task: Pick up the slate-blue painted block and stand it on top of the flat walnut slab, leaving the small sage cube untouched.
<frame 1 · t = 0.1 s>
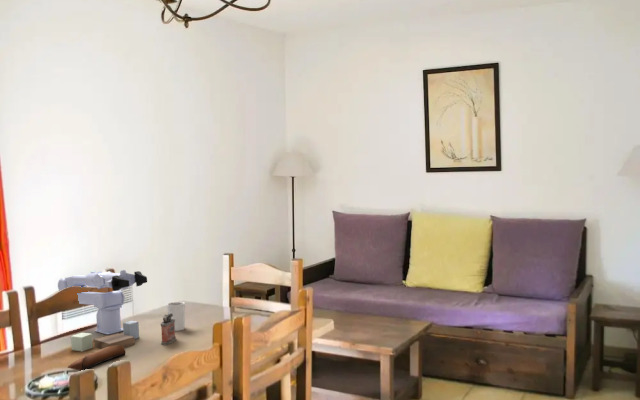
hand: (137, 281, 228), 22 cm above the table, tool horizontal, fingers open, 7 cm apart
sage cube: (82, 348, 220), on the table
white cup: (177, 329, 243), on the table
lighter: (168, 342, 225), on the table
walnut block: (114, 346, 223), on the table
blue block: (131, 338, 231), on the table
brown tapered cylinder: (96, 363, 204), on the table
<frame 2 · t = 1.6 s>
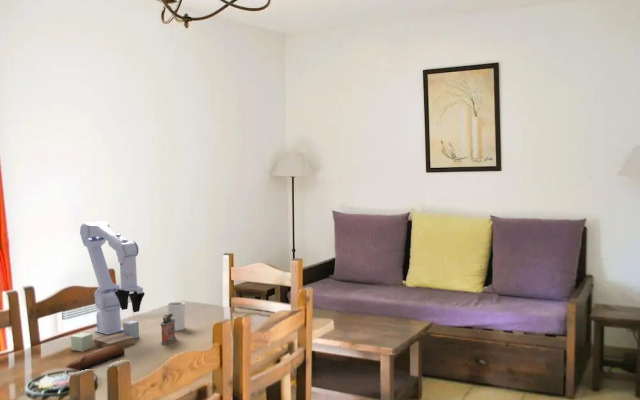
hand: (130, 310, 231), 10 cm above the table, tool pointing down, fingers open, 7 cm apart
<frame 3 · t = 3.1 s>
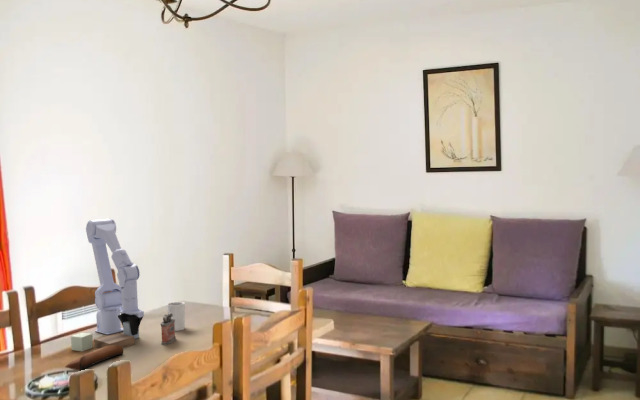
hand: (131, 333, 231), 2 cm above the table, tool pointing down, fingers closed on blue block, 4 cm apart
blue block: (131, 337, 231), on the table, touching gripper
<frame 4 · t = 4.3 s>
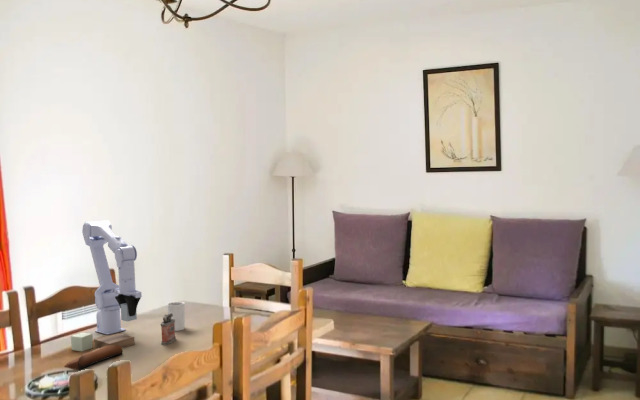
hand: (128, 314, 230), 9 cm above the table, tool pointing down, fingers closed on blue block, 4 cm apart
blue block: (129, 319, 230), point 7 cm above the table, touching gripper
when the fingers open (5 cm above the table, at t = 5.8 s): blue block drops 1 cm, point 2 cm above the table.
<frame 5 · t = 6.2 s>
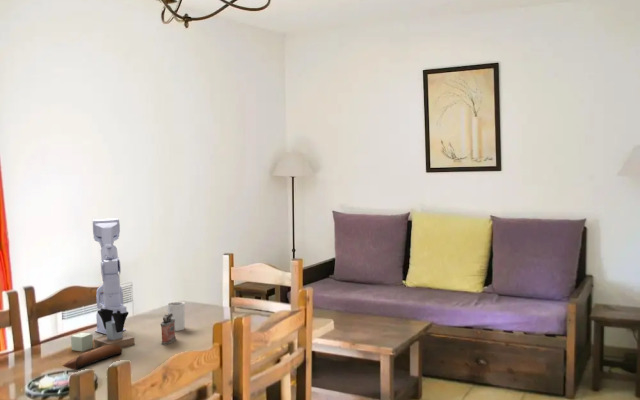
hand: (113, 330, 222), 5 cm above the table, tool pointing down, fingers open, 7 cm apart
blue block: (114, 338, 223), point 2 cm above the table
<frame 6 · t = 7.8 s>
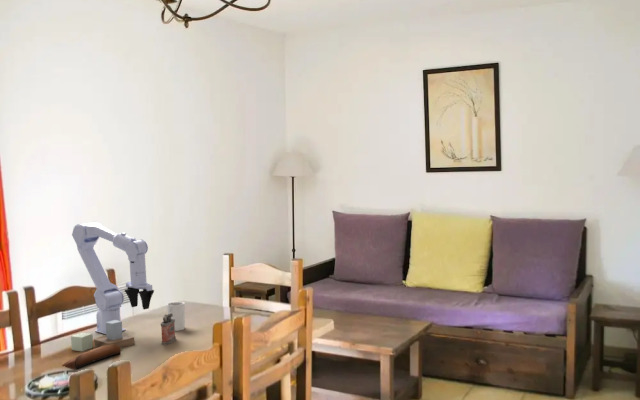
hand: (140, 307, 235), 10 cm above the table, tool pointing down, fingers open, 7 cm apart
walnut block: (114, 346, 223), on the table, touching blue block
blue block: (114, 338, 223), point 2 cm above the table, touching walnut block
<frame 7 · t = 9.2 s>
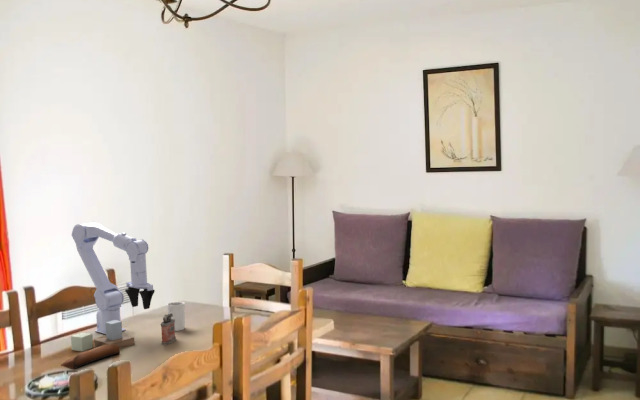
hand: (140, 307, 235), 10 cm above the table, tool pointing down, fingers open, 7 cm apart
at the end: blue block inside the target area on the walnut block (0.2 cm from its centre), point 3.1 cm above the walnut block's base; blue block tilted 2°; the gripper is holding nothing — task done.
